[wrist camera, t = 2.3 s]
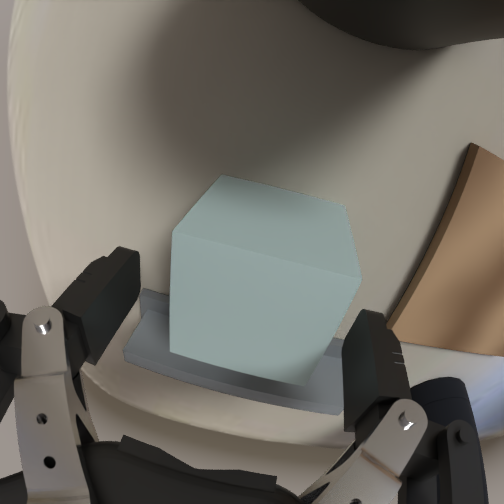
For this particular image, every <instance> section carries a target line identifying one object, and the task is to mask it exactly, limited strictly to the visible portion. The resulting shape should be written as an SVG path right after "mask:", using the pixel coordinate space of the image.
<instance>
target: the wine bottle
mask: <svg viewBox="0 0 504 504" xmlns="http://www.w3.org/2000/svg"><path fill="white" fill-rule="evenodd" d="M410 391H411V397H412V400H413V401H415V402H416V403H418V404H419V405H420V406H421V407H422V408H423V410H424V411H425V413H426V416H427V420H430V421H432V422H435V423H437V424H440V425H443V426H446V427H447V426H448V425H449V424H450V423H452V422H453V421H455V420H464V421H466V422H467V423H469V424H470V425H471V426H472V428H473V429H474V431H475V434H476V437H477V443H478V449H479V456H480V463H481V472H482V481H483V492H484V504H489V502H488V493H487V484H486V477H485V470H484V464H483V458H482V453H481V448H480V442H479V438H478V433H477V429H476V424H475V420H474V416H473V412H472V408H471V405H470V401H469V397H468V394H467V390H466V387H465V384H464V382H463V381H461V380H460V379H458V378H453V377H445V378H438V379H434V380H430V381H427V382H424V383H422V384H419V385H417V386H415V387H413V388H411V389H410ZM436 481H437V504H438V503H439V501H440V479H439V474H438V475H436Z"/></svg>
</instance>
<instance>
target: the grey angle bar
mask: <svg viewBox="0 0 504 504" xmlns="http://www.w3.org/2000/svg"><path fill="white" fill-rule="evenodd" d="M140 307H141V321H140V323H139V324H138V326H137V327H136V329H135V331H134V332H133V334H132V336H131V337H130V339H129V341H128V342H127V344H126V346H125V347H124V349H123V353H124V358H125V361H127V362H129V363H132V364H134V365H137V366H140V367H142V368H145V369H148V370H151V371H154V372H156V373H159V374H162V375H165V376H168V377H171V378H174V379H177V380H180V381H184V382H187V383H190V384H193V385H197V386H200V387H204V388H207V389H211V390H214V391H218V392H222V393H225V394H229V395H233V396H237V397H241V398H245V399H250V400H254V401H258V402H263V403H268V404H272V405H277V406H282V407H288V408H293V409H299V410H304V411H310V412H317V413H323V414H330V415H339V414H340V413H341V412H342V411H343V410H344V400H343V374H342V356H341V352H342V346H343V342H344V340H342V339H337V338H332V340H331V342H330V344H329V345H328V347H327V349H326V351H325V353H324V354H323V356H322V358H321V360H320V361H319V363H318V365H317V366H316V368H315V370H314V372H313V373H312V375H311V377H310V378H309V380H308V382H307V383H306V385H305V386H300V385H295V384H290V383H285V382H281V381H276V380H271V379H267V378H263V377H258V376H254V375H250V374H246V373H242V372H238V371H234V370H230V369H227V368H223V367H219V366H216V365H212V364H209V363H205V362H202V361H198V360H195V359H192V358H188V357H185V356H182V355H179V354H176V353H172V352H170V296H167V295H164V294H161V293H158V292H154V291H151V290H148V289H145V288H144V289H143V290H142V292H141V293H140Z"/></svg>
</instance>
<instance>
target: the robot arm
mask: <svg viewBox="0 0 504 504" xmlns="http://www.w3.org/2000/svg"><path fill="white" fill-rule="evenodd" d="M140 287H141V281H140V255H139V252H138V251H134V250H131V249H127V248H124V247H120V246H119V247H117V248H116V249H115V250H114V251H113V252H112V253H111V254H110V255H109V256H108V257H105V256H102V257H101V258H99V259H97V260H95V261H93V262H91V263H90V264H89V265H88V266H87V267H86V268H85V270H84V271H83V273H81V274H80V275H79V276H78V277H77V278H76V280H74V281H73V282H72V284H71V285H70V286H69V287H68V288H67V289H66V290H65V291H64V292H63V294H62V295H61V296H60V297H59V298H58V299H57V300H56V302H55V303H54V304H53V305H52V306H51V307H50V306H42V307H38V308H35V309H33V310H32V311H30V312H29V313H28V314H27V315H20V314H13V313H8V311H7V308H6V306H5V304H4V302H2V301H1V300H0V422H1V420H2V419H3V417H4V415H5V413H6V411H7V409H8V407H9V405H10V403H11V402H12V400H13V398H14V400H15V401H14V402H15V416H16V427H17V435H18V444H19V451H20V457H21V463H22V468H23V471H21V472H18V473H15V474H13V475H10V476H7V477H5V478H1V479H0V504H390V502H391V501H392V500H393V498H394V496H395V495H396V494H397V492H398V504H437V481H436V475H438V474H439V479H440V501H439V503H438V504H484V492H483V481H482V472H481V463H480V456H479V449H478V443H477V437H476V434H475V431H474V429H473V428H472V426H471V425H470V424H469V423H467V422H466V421H464V420H455V421H453V422H452V423H450V424H449V425H448V426H447V427H446V426H443V425H440V424H437V423H435V422H432V421H430V420H427V416H426V413H425V411H424V410H423V408H422V407H421V406H420V405H419V404H418V403H416V402H415V401H413V400H412V397H411V391H410V386H409V381H408V377H407V372H406V367H405V365H404V358H403V355H402V350H401V346H400V342H399V340H398V338H397V337H396V335H395V334H394V332H393V331H392V330H391V329H387V326H386V322H385V318H384V315H383V314H382V313H379V312H375V311H370V310H365V309H362V310H361V311H360V313H359V314H358V316H357V318H356V320H355V322H354V323H353V325H352V327H351V329H350V330H349V332H348V334H347V336H346V337H345V340H344V342H343V346H342V352H341V356H342V374H343V400H344V431H345V432H355V440H354V441H353V442H352V443H351V444H350V445H349V446H348V447H347V449H346V450H345V451H344V452H343V453H342V454H341V455H340V457H339V458H338V459H337V460H336V461H335V462H334V463H333V464H332V465H331V467H330V468H329V469H328V470H327V471H326V472H325V473H324V474H323V475H322V476H321V477H320V478H319V479H318V480H317V481H316V482H314V483H313V484H312V485H311V486H310V487H308V488H307V489H306V490H305V491H304V492H303V493H302V494H301V495H299V496H298V497H297V496H296V495H295V494H294V493H292V492H290V491H289V490H287V489H286V488H284V487H282V486H280V485H277V484H276V480H277V476H272V475H266V474H259V473H254V472H248V471H243V470H204V469H195V468H193V467H191V466H189V465H187V464H186V463H184V462H182V461H180V460H178V459H176V458H175V457H173V456H172V455H170V454H168V453H166V452H165V451H163V450H161V449H160V448H158V447H155V446H152V445H149V444H146V443H144V442H141V441H138V440H136V439H133V438H131V437H128V436H126V435H123V437H122V439H121V442H117V441H115V442H114V441H100V442H99V439H98V436H97V433H96V430H95V427H94V425H93V422H92V419H91V416H90V412H89V408H88V403H87V398H86V393H85V388H84V383H83V377H82V371H81V367H82V365H83V363H84V362H85V361H86V362H88V363H90V364H93V365H96V364H97V362H98V360H99V359H100V357H101V356H102V354H103V352H104V351H105V349H106V347H107V346H108V344H109V343H110V341H111V339H112V338H113V336H114V335H115V333H116V331H117V330H118V328H119V327H120V325H121V324H122V322H123V321H124V319H125V317H126V316H127V314H128V313H129V311H130V310H131V308H132V307H133V305H134V304H135V302H136V301H137V299H138V296H139V293H140Z"/></svg>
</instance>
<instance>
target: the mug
mask: <svg viewBox="0 0 504 504" xmlns="http://www.w3.org/2000/svg"><path fill="white" fill-rule="evenodd" d="M299 1H300V2H301V3H302V4H303V5H304V6H305V7H306V8H308V9H309V10H310V11H312V12H313V13H315V14H316V15H317V16H319V17H320V18H322V19H323V20H325V21H327V22H328V23H330V24H332V25H334V26H335V27H337V28H339V29H341V30H343V31H345V32H347V33H350V34H352V35H354V36H356V37H359V38H361V39H364V40H367V41H370V42H373V43H376V44H379V45H384V46H389V47H393V48H400V49H410V50H427V49H435V48H440V47H445V46H451V45H456V44H462V43H468V42H475V41H482V40H489V39H498V38H504V0H299Z"/></svg>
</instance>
